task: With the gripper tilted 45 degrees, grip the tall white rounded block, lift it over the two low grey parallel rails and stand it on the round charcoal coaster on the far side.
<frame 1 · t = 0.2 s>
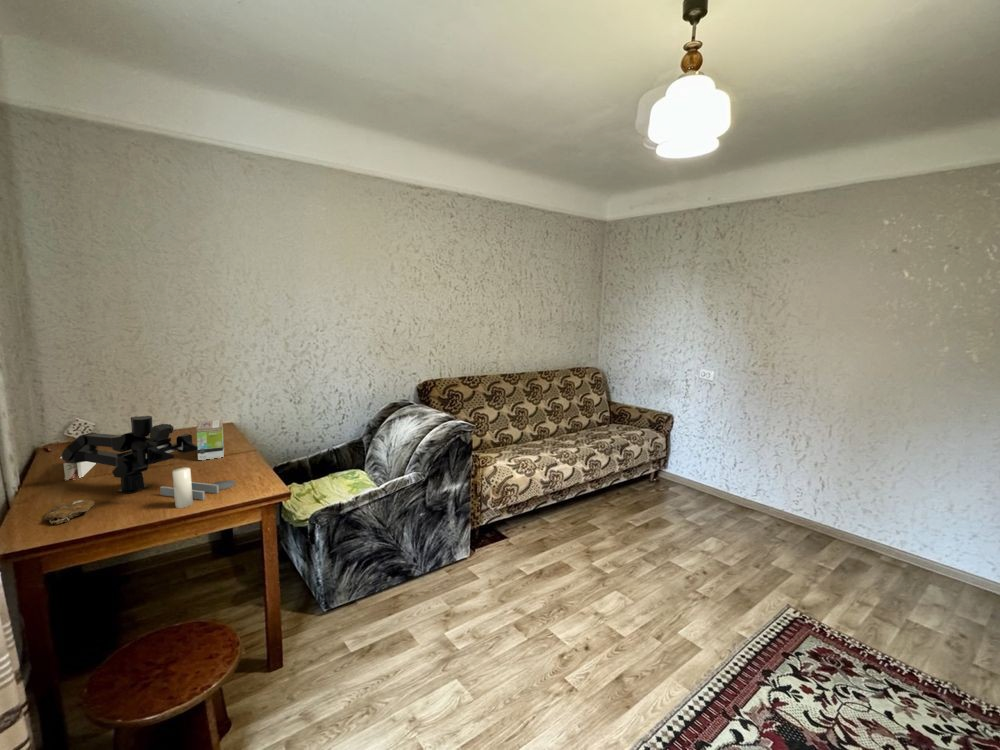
hand: (185, 452, 155), 17 cm above the table, tool horizontal, fingers open, 9 cm apart
decorative rock: (70, 516, 142), on the table
tea box: (211, 455, 203), on the table
coaster: (222, 485, 168), on the table
white rounded block: (184, 505, 151), on the table
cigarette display: (80, 472, 179), on the table
grey parallel rails: (190, 493, 160), on the table
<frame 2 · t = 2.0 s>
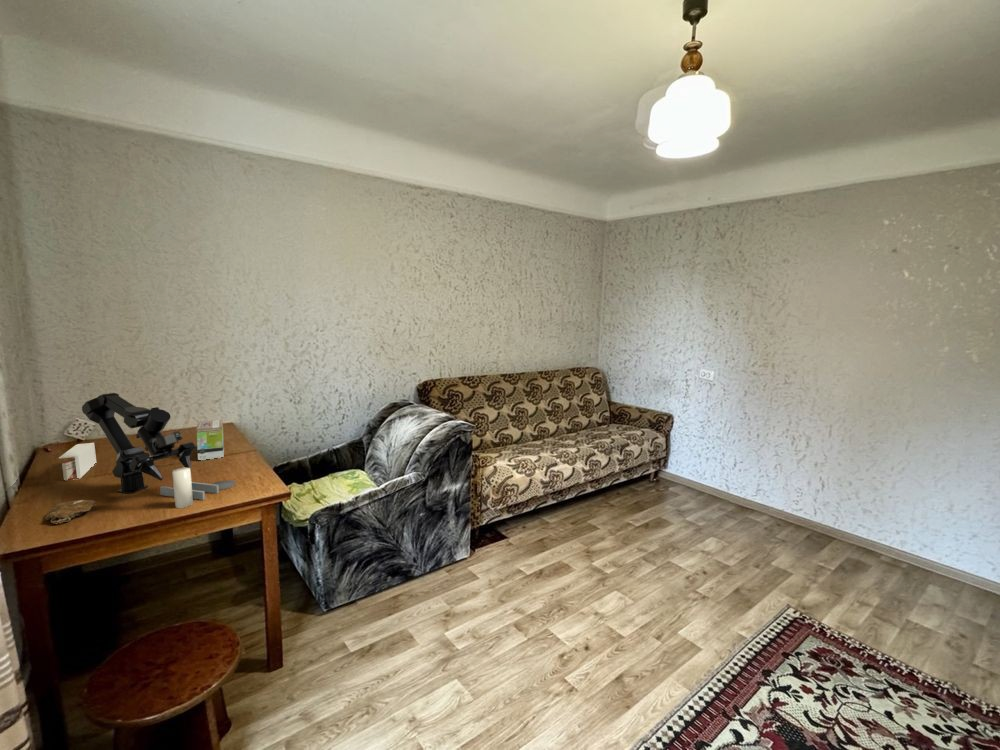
hand: (176, 475, 151), 10 cm above the table, tool tilted 45°, fingers open, 9 cm apart
nothing on the table moved.
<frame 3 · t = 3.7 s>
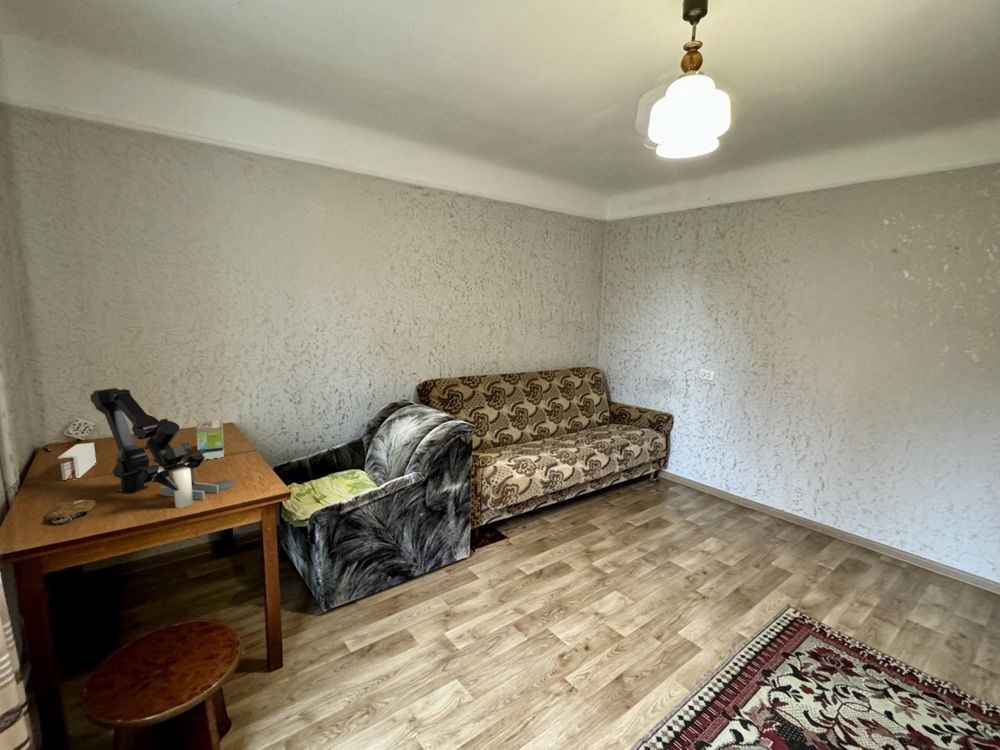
hand: (185, 487, 150), 7 cm above the table, tool tilted 45°, fingers closed on white rounded block, 5 cm apart
white rounded block: (184, 504, 151), on the table, touching gripper
everything else where it was.
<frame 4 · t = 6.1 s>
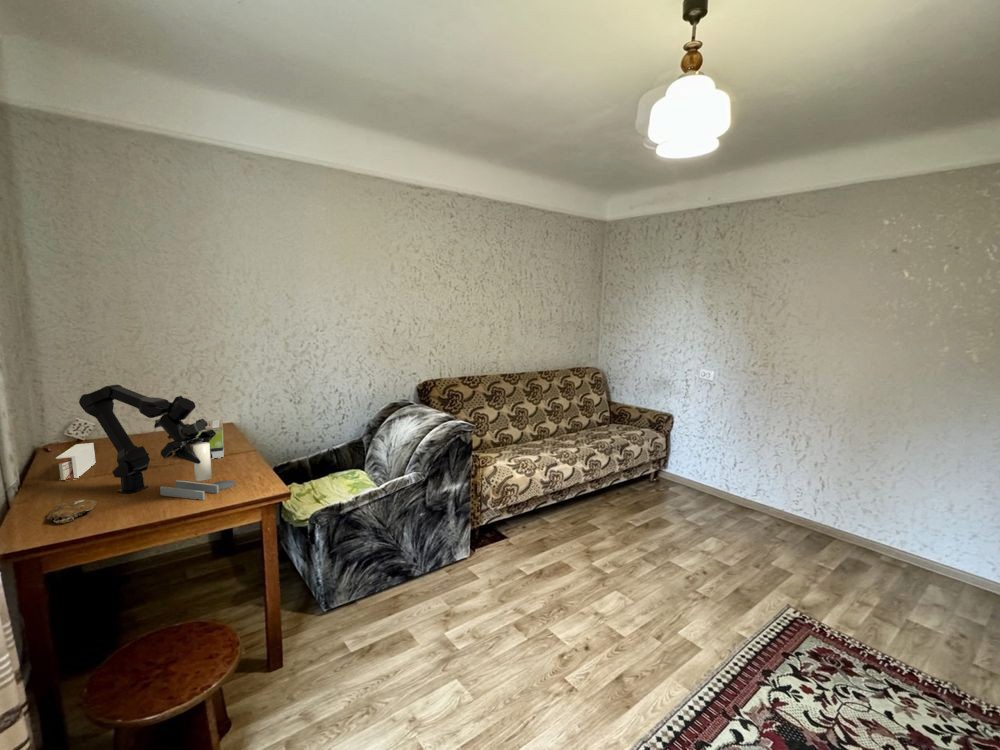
hand: (205, 460, 157), 13 cm above the table, tool tilted 45°, fingers closed on white rounded block, 5 cm apart
white rounded block: (203, 478, 158), point 7 cm above the table, touching gripper
everything else where it was.
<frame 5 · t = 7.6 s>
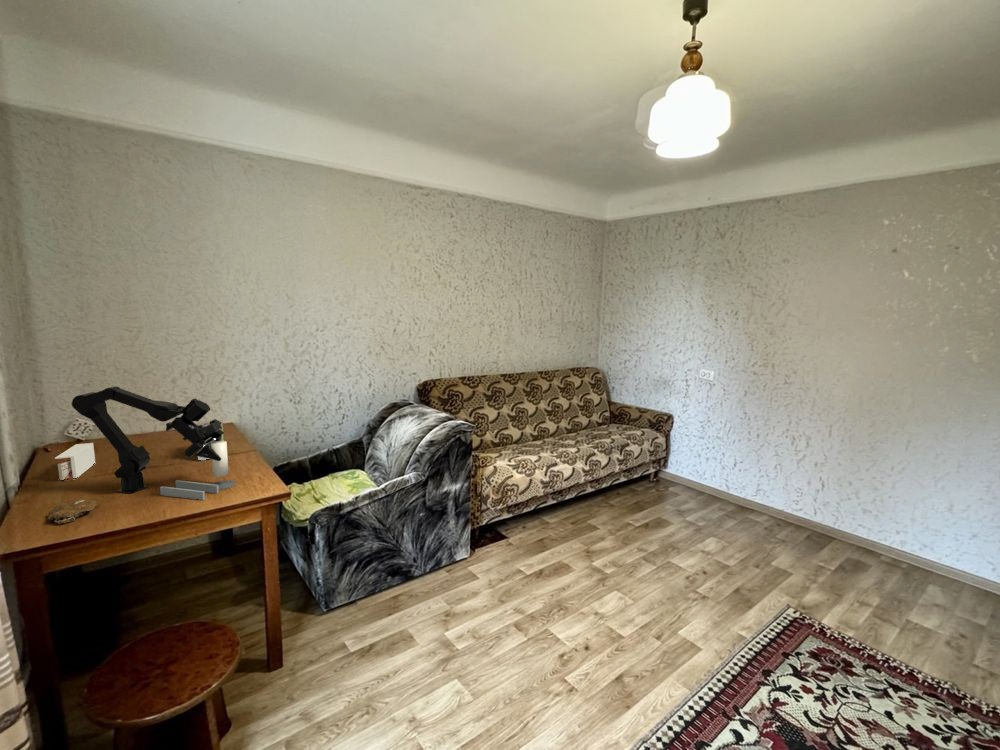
hand: (223, 457, 167), 11 cm above the table, tool tilted 45°, fingers closed on white rounded block, 5 cm apart
white rounded block: (220, 474, 167), point 4 cm above the table, touching gripper
when the fingers open (8 cm above the table, at t = 8.6 s): white rounded block stays where it is, resting on coaster.
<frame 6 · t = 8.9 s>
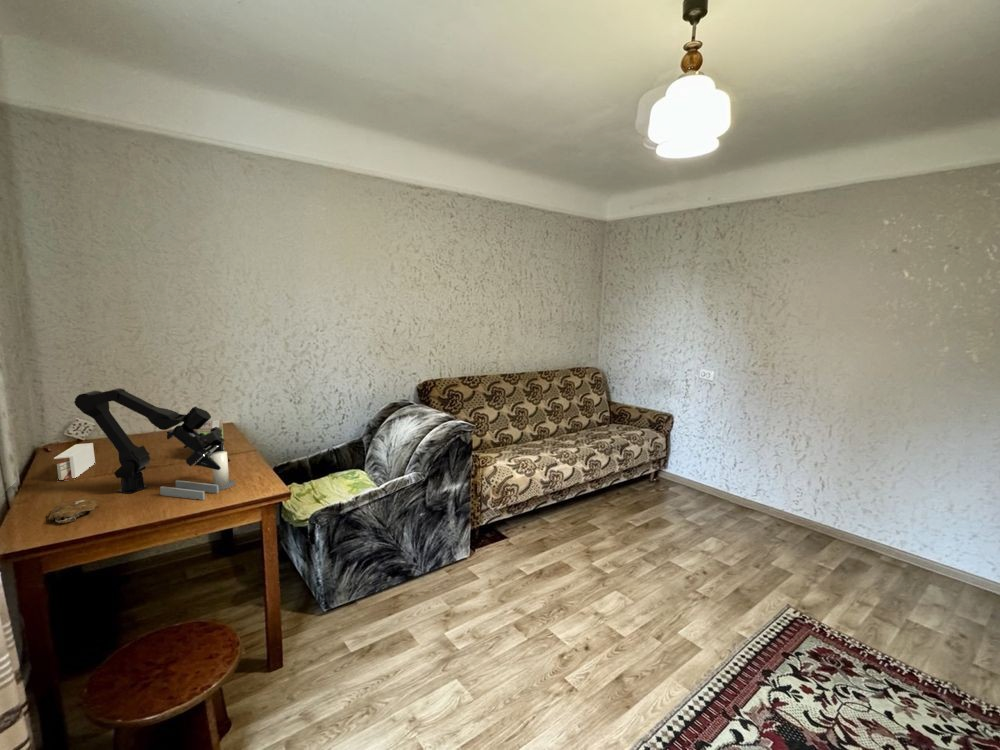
hand: (224, 465, 167), 8 cm above the table, tool tilted 45°, fingers open, 8 cm apart
white rounded block: (221, 484, 168), resting on coaster
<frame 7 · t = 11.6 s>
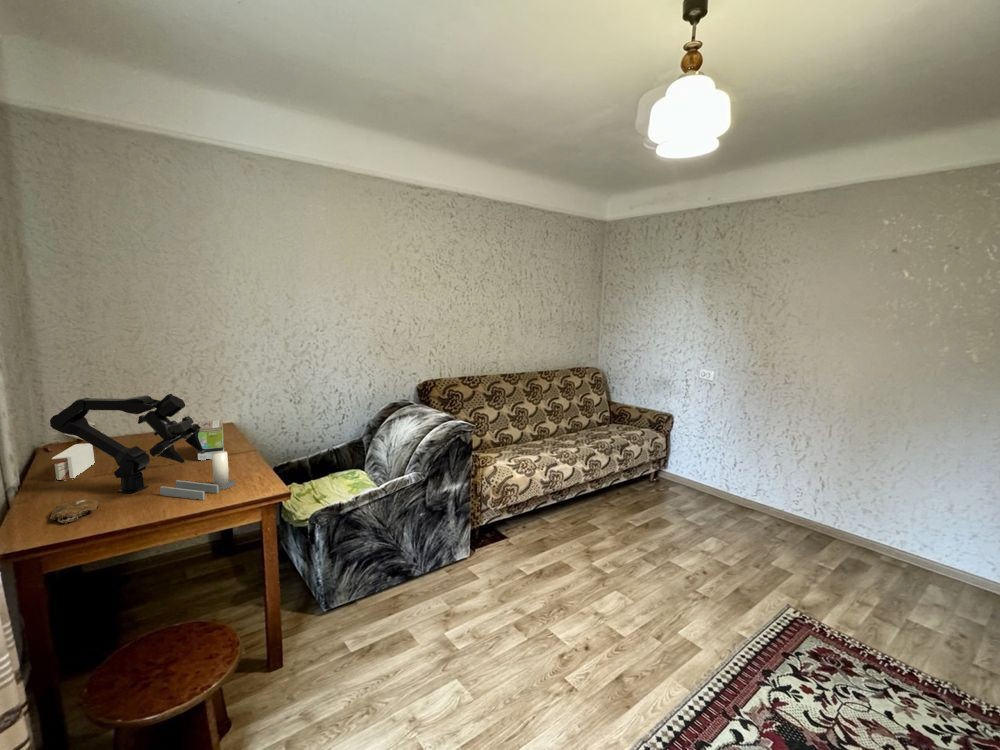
hand: (193, 456, 164), 12 cm above the table, tool tilted 40°, fingers open, 9 cm apart
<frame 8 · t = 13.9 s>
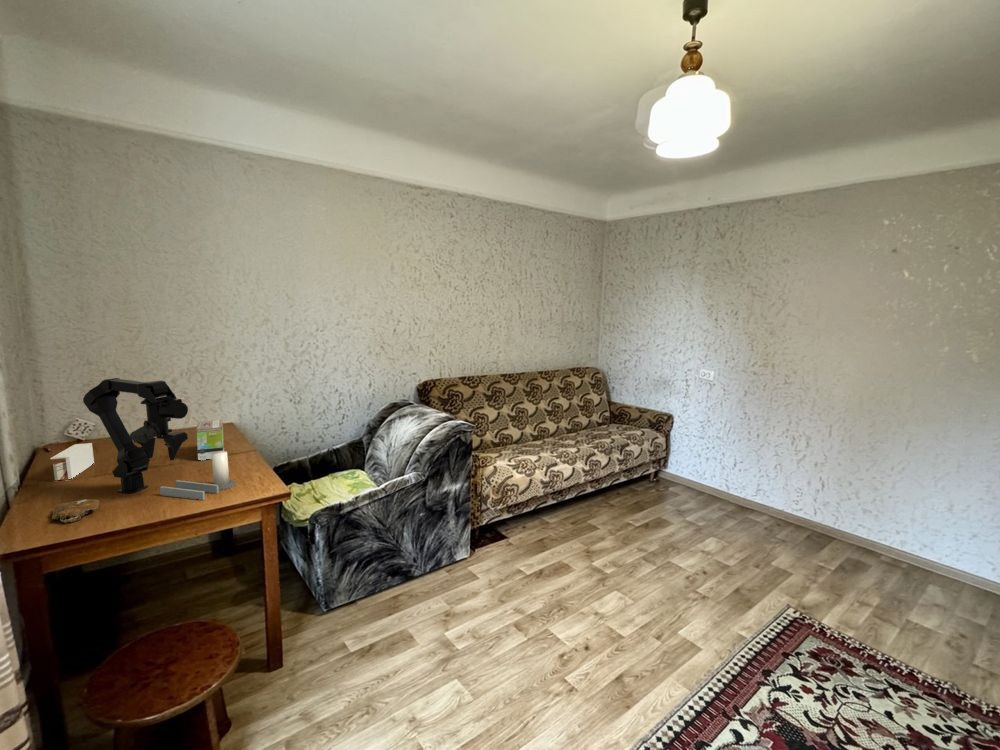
hand: (161, 459, 158), 13 cm above the table, tool pointing down, fingers open, 9 cm apart
at the end: white rounded block 0.1 cm off-centre on the coaster, point 0.4 cm above the coaster's base; white rounded block tilted 0°; the gripper is holding nothing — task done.
